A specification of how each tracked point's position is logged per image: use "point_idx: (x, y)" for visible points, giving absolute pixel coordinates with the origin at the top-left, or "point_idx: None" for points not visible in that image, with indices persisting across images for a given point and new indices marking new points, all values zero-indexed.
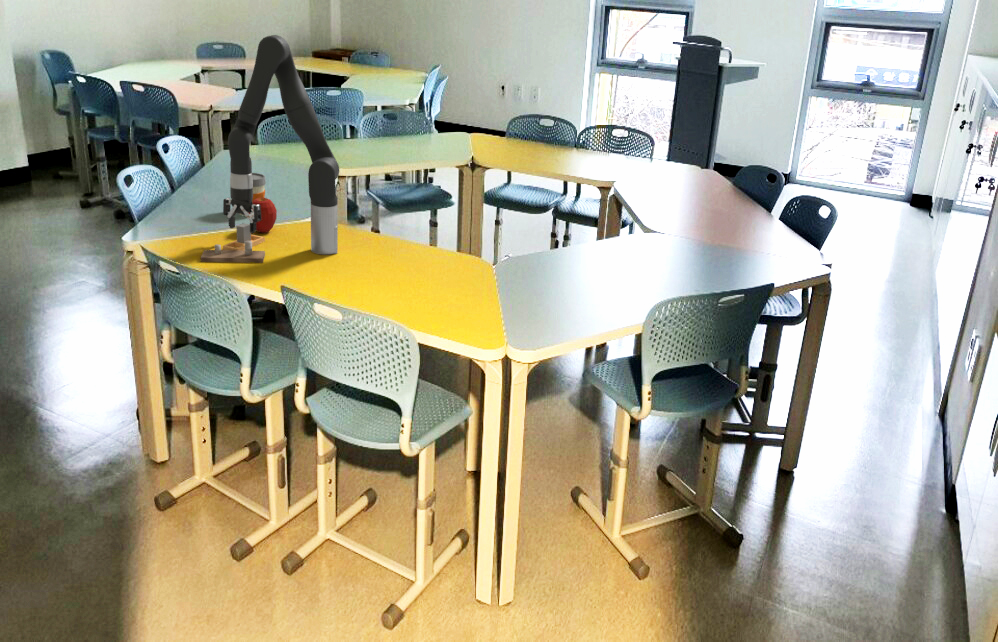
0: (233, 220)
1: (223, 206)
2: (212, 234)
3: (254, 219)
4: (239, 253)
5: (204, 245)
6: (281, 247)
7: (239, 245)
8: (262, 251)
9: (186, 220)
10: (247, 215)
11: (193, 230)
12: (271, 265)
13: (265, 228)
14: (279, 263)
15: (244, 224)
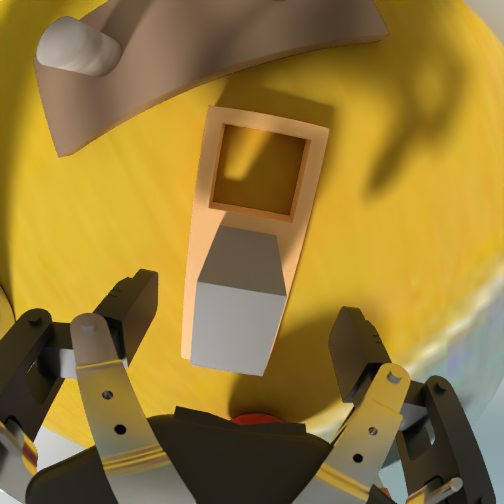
0: (346, 370)
1: (475, 442)
2: (432, 332)
3: (42, 332)
4: (156, 40)
5: (437, 178)
6: (79, 291)
7: (249, 211)
8: (63, 143)
9: (489, 383)
10: (90, 374)
11: (485, 334)
12: (16, 61)
13: None
14: (2, 100)
15: (235, 353)
